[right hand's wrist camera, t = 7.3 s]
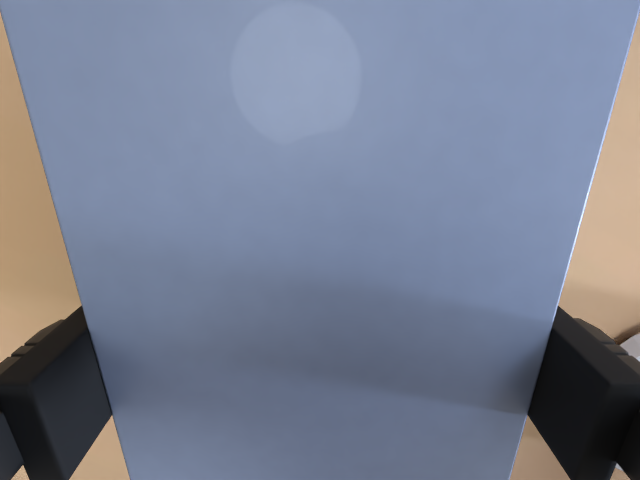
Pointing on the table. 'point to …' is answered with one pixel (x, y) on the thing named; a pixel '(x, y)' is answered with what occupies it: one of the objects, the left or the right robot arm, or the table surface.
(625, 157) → the table surface
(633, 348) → the mechanical component
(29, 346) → the right robot arm
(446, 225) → the cabinet
